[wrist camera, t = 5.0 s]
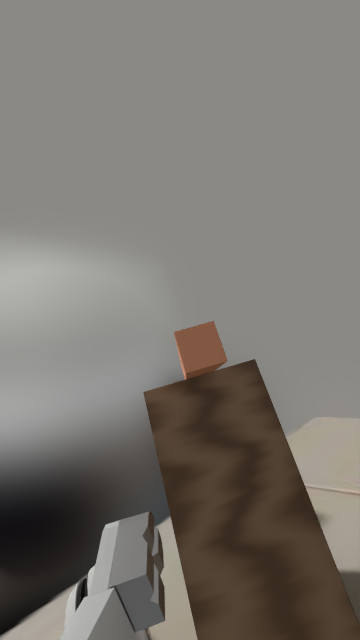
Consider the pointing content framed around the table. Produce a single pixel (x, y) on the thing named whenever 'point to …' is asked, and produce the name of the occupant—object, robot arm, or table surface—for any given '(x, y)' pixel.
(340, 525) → the table surface
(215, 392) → the brown block
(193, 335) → the pin
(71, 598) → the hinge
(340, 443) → the table surface
